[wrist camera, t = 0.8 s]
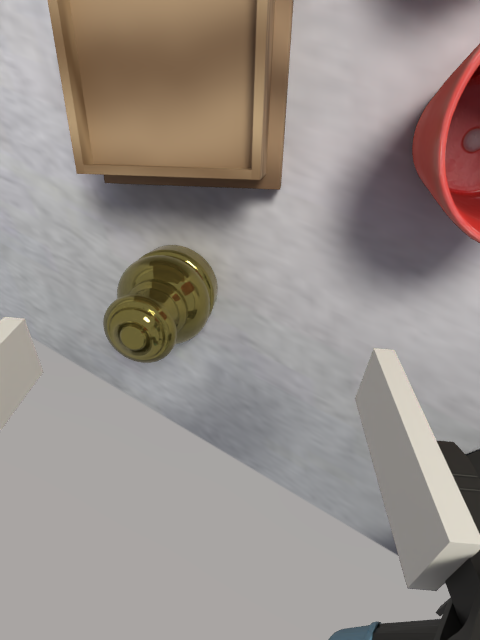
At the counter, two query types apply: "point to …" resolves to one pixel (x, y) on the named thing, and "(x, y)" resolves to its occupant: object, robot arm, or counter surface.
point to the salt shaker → (160, 303)
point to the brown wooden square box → (176, 89)
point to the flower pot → (453, 146)
